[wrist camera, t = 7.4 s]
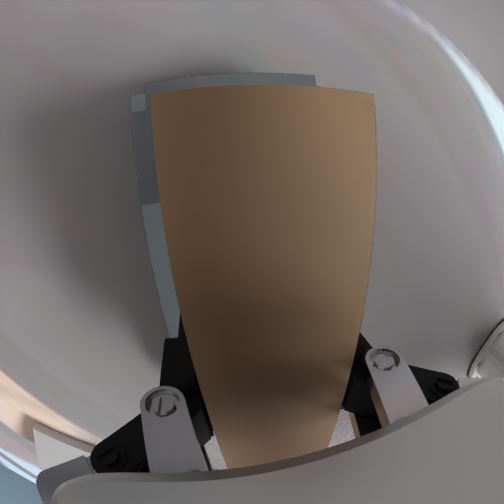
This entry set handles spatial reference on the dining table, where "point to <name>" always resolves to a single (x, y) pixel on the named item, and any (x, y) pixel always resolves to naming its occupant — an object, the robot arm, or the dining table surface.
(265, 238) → the slat
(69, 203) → the dining table surface
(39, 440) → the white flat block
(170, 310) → the board
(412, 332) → the dining table surface
